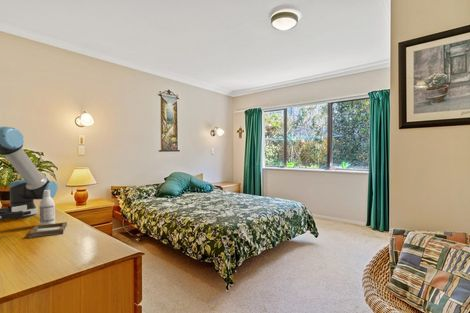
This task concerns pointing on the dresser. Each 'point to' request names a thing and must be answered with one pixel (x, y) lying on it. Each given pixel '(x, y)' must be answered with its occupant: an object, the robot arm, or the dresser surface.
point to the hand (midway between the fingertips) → (32, 209)
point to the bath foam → (47, 209)
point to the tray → (48, 230)
